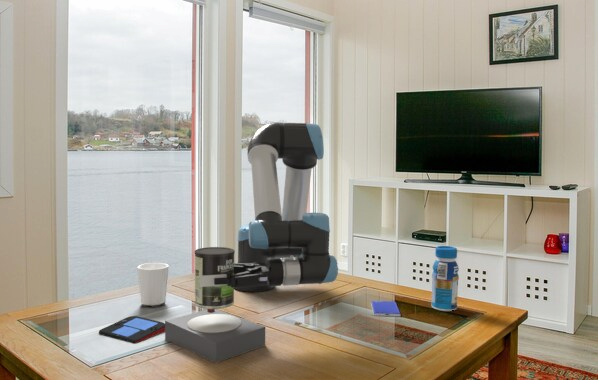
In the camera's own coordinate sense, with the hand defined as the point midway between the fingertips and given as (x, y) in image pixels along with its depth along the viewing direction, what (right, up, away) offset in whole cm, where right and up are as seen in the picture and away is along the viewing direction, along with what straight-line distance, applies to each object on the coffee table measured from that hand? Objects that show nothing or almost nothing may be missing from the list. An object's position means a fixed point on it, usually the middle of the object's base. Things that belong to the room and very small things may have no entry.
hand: (198, 276), depth 135 cm
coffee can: (+4, -8, +2) cm, 9 cm away
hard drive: (+54, -17, +33) cm, 65 cm away
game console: (-20, -18, +10) cm, 28 cm away
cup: (-21, -15, +34) cm, 43 cm away
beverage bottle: (+74, -16, +36) cm, 84 cm away
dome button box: (+4, -18, +3) cm, 19 cm away
